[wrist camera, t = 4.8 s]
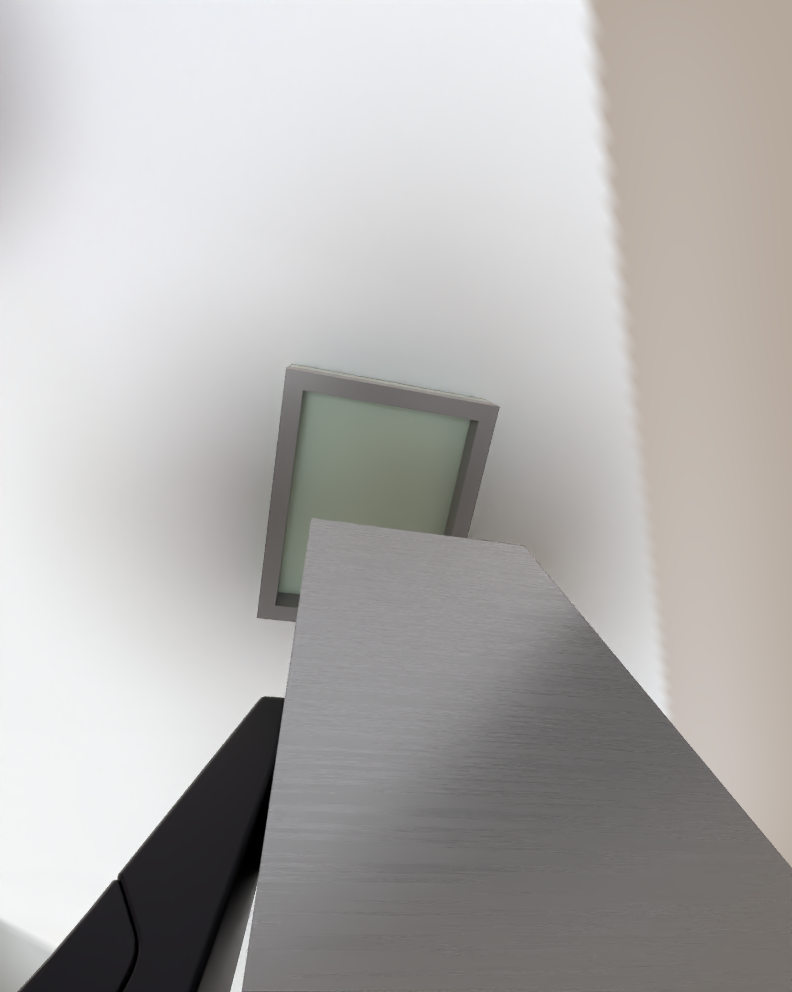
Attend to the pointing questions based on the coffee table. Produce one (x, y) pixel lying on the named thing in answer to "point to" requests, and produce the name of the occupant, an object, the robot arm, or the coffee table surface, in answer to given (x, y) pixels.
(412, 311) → the coffee table surface
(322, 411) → the grey green tray
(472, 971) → the billet
